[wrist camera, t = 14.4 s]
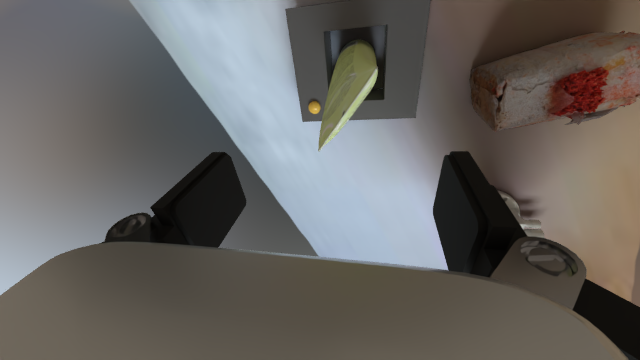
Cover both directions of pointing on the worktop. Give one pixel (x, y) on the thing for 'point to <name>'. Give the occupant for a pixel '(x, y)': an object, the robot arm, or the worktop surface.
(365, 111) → the port block
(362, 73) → the tube
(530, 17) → the worktop surface
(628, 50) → the food item
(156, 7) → the worktop surface
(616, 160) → the worktop surface
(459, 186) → the robot arm
